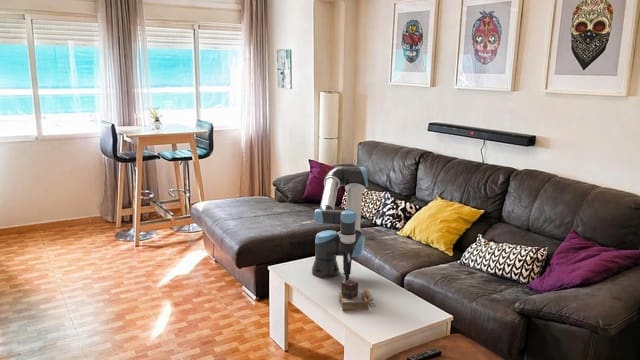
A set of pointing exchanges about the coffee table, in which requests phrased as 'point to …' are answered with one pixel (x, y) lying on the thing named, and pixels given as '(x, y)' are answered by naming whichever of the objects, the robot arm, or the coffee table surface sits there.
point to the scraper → (369, 298)
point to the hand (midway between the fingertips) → (346, 285)
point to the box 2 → (354, 303)
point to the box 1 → (349, 289)
